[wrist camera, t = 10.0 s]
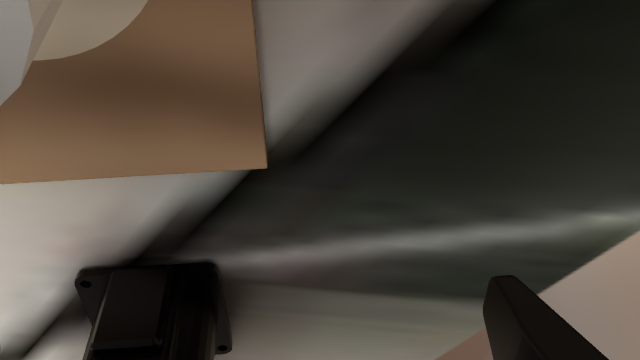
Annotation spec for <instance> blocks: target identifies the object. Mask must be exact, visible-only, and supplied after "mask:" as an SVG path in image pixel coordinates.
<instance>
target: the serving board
mask: <svg viewBox="0 0 640 360" xmlns="http://www.w3.org/2000/svg"><path fill="white" fill-rule="evenodd" d="M263 168H267V147H266V137H265V126H264V116H263V105H262V95H261V84H260V74H259V63H258V53H257V43H256V32H255V22H254V11H253V1H252V0H63V2H62V4H61V6H60V8H59V10H58V11H57V13H56V15H55V17H54V19H53V21H52V23H51V25H50V27H49V29H48V31H47V33H46V35H45V37H44V39H43V41H42V43H41V45H40V47H39V49H38V51H37V53H36V55H35V57H34V59H33V61H32V63H31V65H30V67H29V69H28V71H27V73H26V75H25V77H24V79H23V81H22V83H21V85H20V87H19V88H18V89H17V90H16V91H15V92H14V93H13V94H12V95H11V96H10V97H9V98H8V99H7V100H6V101H5V102H4V103H3V104H2V105H1V106H0V184H11V183H28V182H45V181H62V180H78V179H95V178H112V177H129V176H146V175H162V174H179V173H196V172H213V171H230V170H247V169H263Z"/></svg>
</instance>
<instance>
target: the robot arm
mask: <svg viewBox="0 0 640 360" xmlns="http://www.w3.org/2000/svg"><path fill="white" fill-rule="evenodd" d="M205 272H209V273H205ZM85 280H86V281H85ZM74 283H75V287H76V289H77V291H78V294H79V296H80V298H81V301H82V303H83V305H84V308H85V310H86V312H87V315H88V317H89V319H90V322H91V324H92V326H93V327H92V330H91V333H90V337H89V340H88V343H87V346H86V350H85V353H84V356H83V360H214V357H215V354H226V353H228V352H230V351H231V350H232V337H231V331H230V326H229V321H228V316H227V310H226V305H225V300H224V294H223V289H222V284H221V279H220V273H219V269H218V267H217V265H215V264H214V263H211V262H201V263H186V264H171V265H156V266H141V267H126V268H111V269H96V270H84V271H80V272H79V273H78V274H77V276H76V279H75V282H74ZM483 317H484V321H485V326H486V330H487V334H488V338H489V342H490V347H491V350H492V355H493V359H494V360H609V359H608V358H607V357H605V356H604V355H603V354H602V353H601V352H600V351H599V350H597V349H596V348H595V347H594V346H593V345H592V344H591V343H589V341H587V340H586V339H585V338H584V337H583V336H582V335H581V334H580V333H579V332H577V331H576V330H575V329H574V328H573V327H572V326H571V325H569V324H568V323H567V322H566V321H565V320H564V319H563V318H562V317H560V316H559V315H558V314H557V313H556V312H555V311H554V310H552V309H551V308H550V307H549V306H548V305H547V304H546V303H545V302H544V301H543V300H541V299H540V298H539V297H538V296H537V295H536V294H535V293H534V292H533V291H531V290H530V289H529V288H528V287H527V286H526V285H525V284H524V283H522V282H521V281H520V280H519V279H518V278H517V277H515V276H513V275H503V276H493V277H492V278H491V279H490V281H489V283H488V288H487V292H486V296H485V300H484V304H483Z"/></svg>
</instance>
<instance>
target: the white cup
mask: <svg viewBox="0 0 640 360" xmlns="http://www.w3.org/2000/svg"><path fill="white" fill-rule="evenodd" d="M62 2H63V0H0V106H1V105H2V104H3V103H4V102H5V101H6V100H7V99H8V98H9V97H10V96H11V95H12V94H13V93H14V92H15V91H16V90H17V89H18V88H19V87H20V85H21V83H22V81H23V79H24V77H25V75H26V73H27V71H28V69H29V67H30V65H31V63H32V61H33V59H34V57H35V55H36V53H37V51H38V49H39V47H40V45H41V43H42V41H43V39H44V37H45V35H46V33H47V31H48V29H49V27H50V25H51V23H52V21H53V19H54V17H55V15H56V13H57V11H58V10H59V8H60V6H61V4H62Z"/></svg>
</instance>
